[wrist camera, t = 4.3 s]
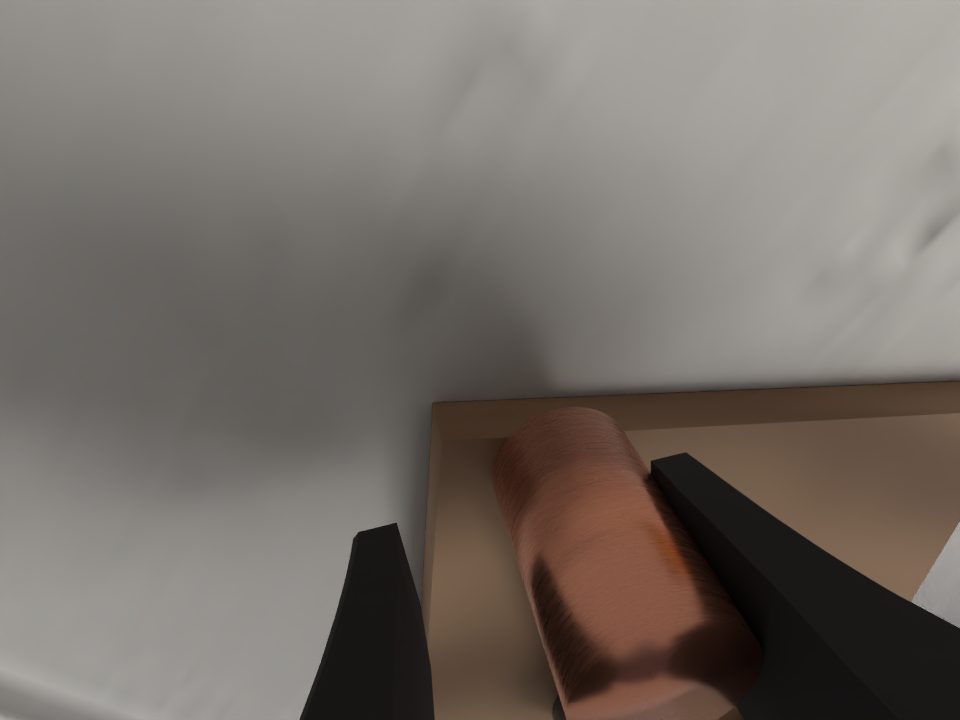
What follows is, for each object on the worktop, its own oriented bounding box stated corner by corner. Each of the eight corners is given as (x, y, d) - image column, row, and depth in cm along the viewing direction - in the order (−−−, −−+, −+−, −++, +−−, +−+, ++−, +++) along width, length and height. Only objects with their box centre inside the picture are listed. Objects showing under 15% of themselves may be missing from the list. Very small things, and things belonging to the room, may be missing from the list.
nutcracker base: (781, 743, 23) (846, 854, 20) (409, 807, 20) (423, 946, 17) (981, 380, 15) (1131, 475, 12) (432, 402, 13) (463, 530, 10)
